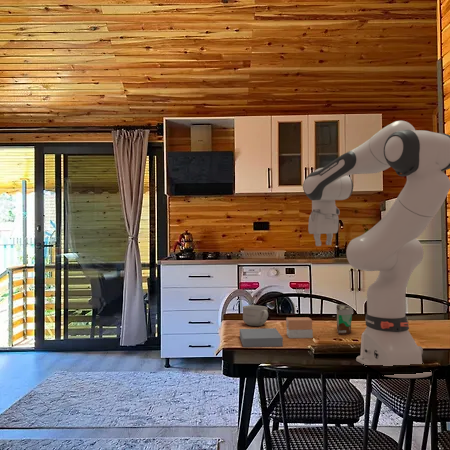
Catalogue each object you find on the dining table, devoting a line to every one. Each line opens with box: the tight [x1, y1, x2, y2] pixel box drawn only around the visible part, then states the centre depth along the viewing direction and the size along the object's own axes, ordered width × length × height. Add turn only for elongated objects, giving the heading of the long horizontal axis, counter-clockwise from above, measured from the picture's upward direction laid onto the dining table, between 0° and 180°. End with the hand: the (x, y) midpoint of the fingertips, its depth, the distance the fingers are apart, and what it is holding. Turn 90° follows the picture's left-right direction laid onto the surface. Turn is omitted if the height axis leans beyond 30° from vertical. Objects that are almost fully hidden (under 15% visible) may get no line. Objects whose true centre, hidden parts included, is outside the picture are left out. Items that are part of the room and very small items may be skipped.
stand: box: [239, 327, 284, 348], centre depth 148 cm, size 14×14×3 cm
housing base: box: [286, 327, 314, 339], centre depth 155 cm, size 5×9×4 cm, turn 92°
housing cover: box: [285, 316, 313, 330], centre depth 155 cm, size 5×9×4 cm, turn 91°
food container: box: [336, 304, 354, 336], centre depth 161 cm, size 12×6×10 cm, turn 168°
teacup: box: [242, 304, 269, 327], centre depth 173 cm, size 14×11×8 cm
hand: (323, 245), depth 156 cm, fingers open, 8 cm apart
